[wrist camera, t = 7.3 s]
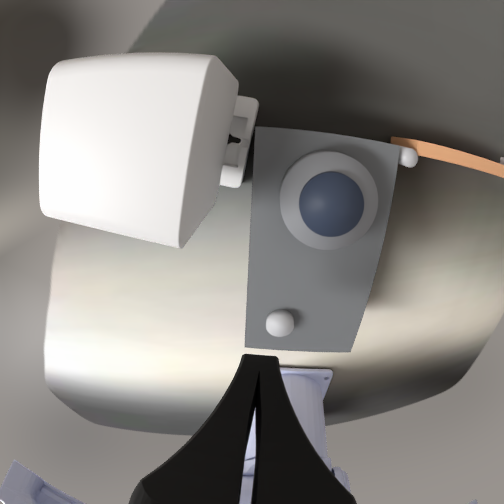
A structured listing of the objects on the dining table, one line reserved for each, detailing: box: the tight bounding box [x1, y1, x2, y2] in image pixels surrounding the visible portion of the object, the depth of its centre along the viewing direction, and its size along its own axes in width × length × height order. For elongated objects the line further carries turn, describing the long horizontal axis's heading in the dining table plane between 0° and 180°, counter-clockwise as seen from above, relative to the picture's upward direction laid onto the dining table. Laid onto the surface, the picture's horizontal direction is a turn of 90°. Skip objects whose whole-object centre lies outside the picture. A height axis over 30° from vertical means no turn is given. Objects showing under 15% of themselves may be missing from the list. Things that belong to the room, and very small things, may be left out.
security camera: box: [39, 53, 259, 248], centre depth 12 cm, size 6×7×10 cm
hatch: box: [390, 136, 504, 178], centre depth 13 cm, size 11×2×4 cm, turn 89°
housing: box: [245, 126, 400, 352], centre depth 16 cm, size 13×7×6 cm, turn 177°
